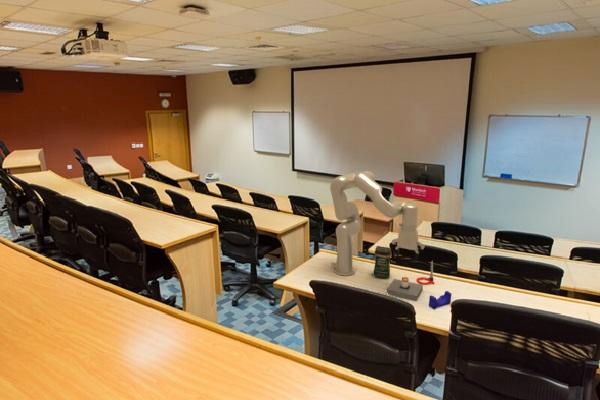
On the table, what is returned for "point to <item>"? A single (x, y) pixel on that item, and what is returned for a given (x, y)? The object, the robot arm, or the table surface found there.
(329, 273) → the table surface
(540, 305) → the table surface
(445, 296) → the cable clip
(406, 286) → the orange and cream cylinder
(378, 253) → the coffee jar
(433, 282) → the tow hook
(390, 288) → the hitch plate
